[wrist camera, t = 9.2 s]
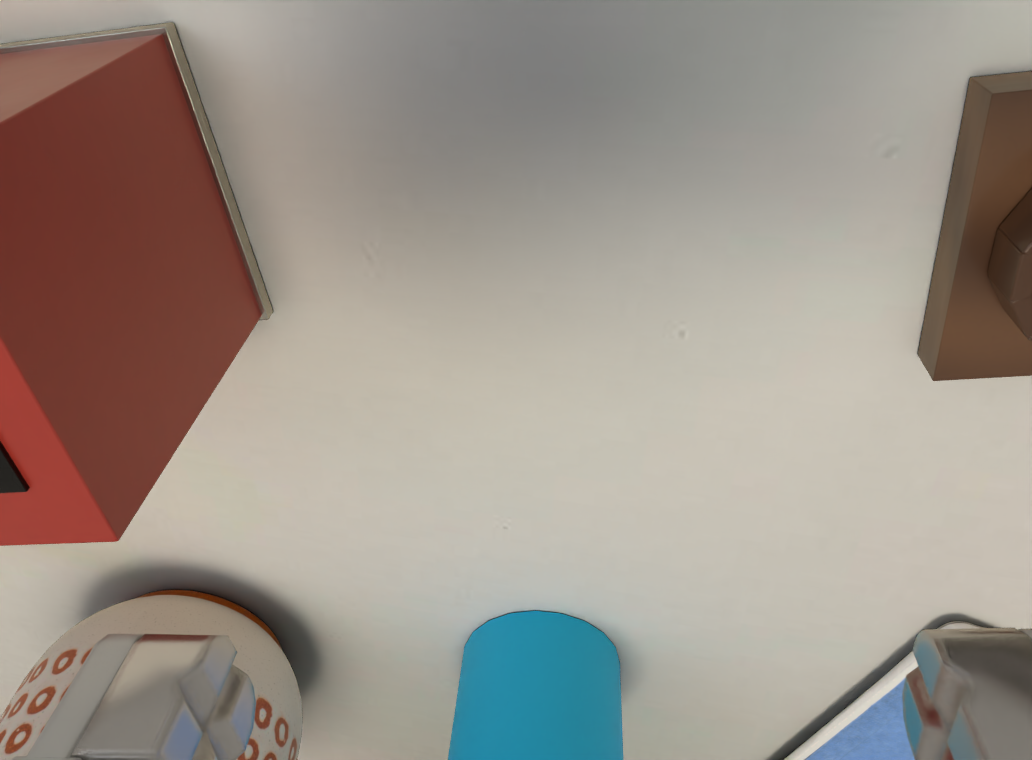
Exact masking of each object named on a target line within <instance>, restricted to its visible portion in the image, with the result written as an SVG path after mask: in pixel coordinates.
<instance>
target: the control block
mask: <svg viewBox="0 0 1032 760" xmlns="http://www.w3.org/2000/svg"><path fill="white" fill-rule="evenodd" d="M918 356H919V358H920V359H921V361H922V363H923V365H924V366H925V368H926V370H927V371H928V373H929V375H930V376H931V378H932V380H933V381H941V380H959V379H977V378H994V377H1012V376H1030V375H1032V71H1028V72H1018V73H1008V74H999V75H989V76H979V77H971V78H970V81H969V86H968V91H967V97H966V102H965V107H964V112H963V118H962V123H961V128H960V133H959V139H958V144H957V149H956V155H955V160H954V165H953V170H952V176H951V181H950V186H949V192H948V197H947V202H946V207H945V213H944V218H943V223H942V229H941V234H940V239H939V244H938V250H937V255H936V260H935V266H934V271H933V276H932V281H931V287H930V292H929V297H928V303H927V308H926V313H925V318H924V324H923V329H922V334H921V340H920V345H919V350H918Z"/></svg>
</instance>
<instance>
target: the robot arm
mask: <svg viewBox="0 0 1032 760" xmlns="http://www.w3.org/2000/svg"><path fill="white" fill-rule="evenodd" d="M913 653H914V656H915V658H916V661H917V664H918V667H917V668H915V669H914V670H913V671H911V672H910V673H908V674H907V675H906V678H905V683H904V688H903V693H902V700H903V719H904V723H905V728H906V732H907V737H908V740H909V743H910V746H911V750H912V753H913V756H914V759H915V760H1032V629H1016V628H972V629H923V630H922V631H921V632H920V633H919V634H918V635H917V636H916V639H915V643H914V647H913ZM236 654H237V651H236V649H235V647H234V645H233V643H232V641H231V640H230V638H229V636H228V635H184V634H107V635H106V636H105V637H103V638H102V639H101V640H100V641H98V642H97V643H96V644H95V645H94V647H93V648H92V650H91V651H90V653H89V655H88V656H87V658H86V660H85V661H84V663H83V665H82V666H81V668H80V670H79V671H78V673H77V674H76V676H75V678H74V679H73V681H72V683H71V684H70V686H69V688H68V689H67V691H66V692H65V694H64V696H63V697H62V699H61V701H60V702H59V704H58V706H57V707H56V709H55V710H54V712H53V714H52V715H51V717H50V719H49V720H48V722H47V724H46V725H45V727H44V728H43V730H42V732H41V733H40V735H39V737H38V738H37V740H36V742H35V743H34V745H33V747H32V748H31V750H30V751H29V753H28V755H27V756H15V757H14V758H12V759H11V760H236V759H237V758H238V757H239V756H240V755H242V754H243V753H244V752H245V750H246V747H247V745H248V742H249V739H250V736H251V733H252V730H253V726H254V718H255V710H256V699H255V692H254V687H253V684H252V682H251V680H250V678H249V676H248V674H246V673H245V672H243V671H242V670H241V669H239V668H238V667H236V666H235V665H233V661H234V659H235V656H236Z"/></svg>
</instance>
